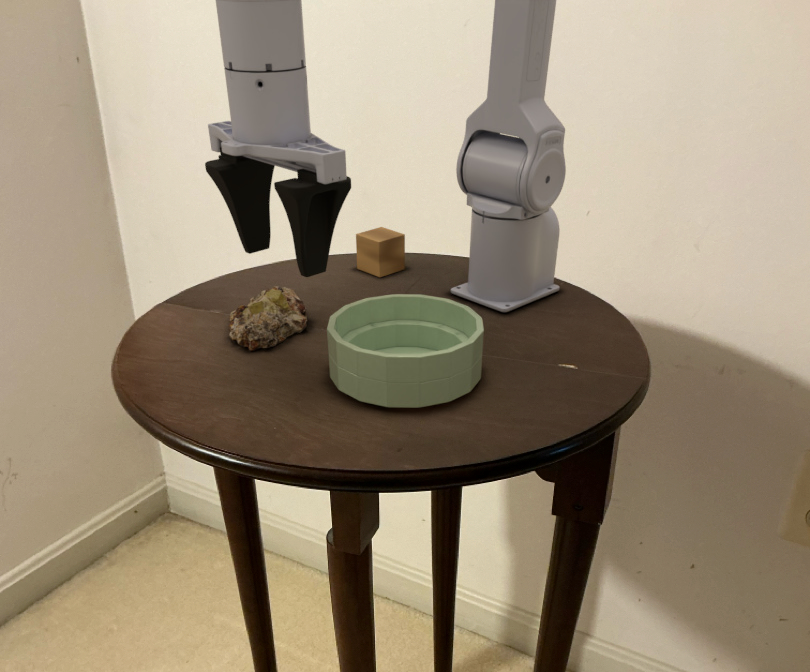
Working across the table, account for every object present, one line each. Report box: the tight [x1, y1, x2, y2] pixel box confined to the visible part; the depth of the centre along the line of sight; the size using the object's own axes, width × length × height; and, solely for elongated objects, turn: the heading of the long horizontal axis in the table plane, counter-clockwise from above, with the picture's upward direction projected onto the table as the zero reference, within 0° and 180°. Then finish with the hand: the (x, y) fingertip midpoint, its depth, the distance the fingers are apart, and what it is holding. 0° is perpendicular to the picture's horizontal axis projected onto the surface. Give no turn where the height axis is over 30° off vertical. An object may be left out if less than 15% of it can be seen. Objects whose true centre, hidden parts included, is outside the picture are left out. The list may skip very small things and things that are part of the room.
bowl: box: [326, 293, 485, 409], centre depth 67 cm, size 13×13×5 cm
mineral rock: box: [228, 285, 308, 352], centre depth 76 cm, size 11×4×8 cm
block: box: [355, 226, 406, 278], centre depth 89 cm, size 4×4×4 cm
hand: (284, 261), depth 63 cm, fingers open, 7 cm apart
